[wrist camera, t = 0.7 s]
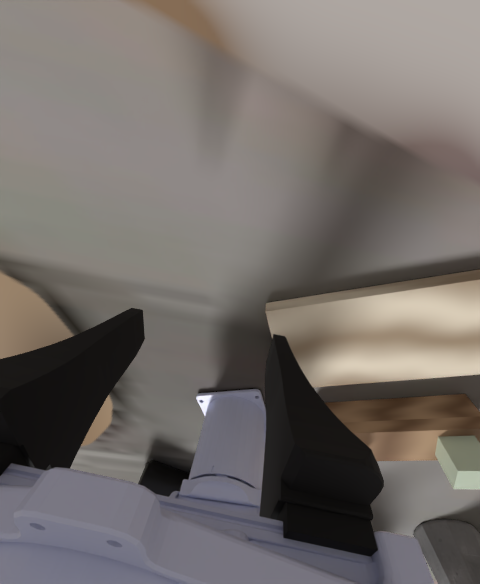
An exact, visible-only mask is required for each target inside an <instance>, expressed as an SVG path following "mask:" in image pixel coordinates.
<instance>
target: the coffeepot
mask: <svg viewBox="0 0 480 584" xmlns="http://www.w3.org/2000/svg"><path fill="white" fill-rule="evenodd" d="M413 535H414V537H415V538H416V539H417V540H418V542H419V545H420V547H421V550H422V553H423V554H424V556H425V558H426V560H427V562H428V564H429V566H430V568H431V570H432V572H433V574H434V576H435V578H436V580H437V582H438V584H480V533H479V532H478V531H477V530H476V528H475V527H474V526H472V525H471V524H469V523H466V522H463V521H458V520H448V519H442V520H432V521H428V522H425V523H422V524H420V525H419V526H417V527H416V529H415V532H414V534H413Z"/></svg>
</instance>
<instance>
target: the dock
mask: <svg viewBox="0 0 480 584" xmlns="http://www.w3.org/2000/svg"><path fill="white" fill-rule="evenodd" d="M265 312H266V316H267V320H268V324H269V328H270V332H271V336H272V338H273V334H276V335H282V336H285V337H286V338H287V341H288V343H289V346H290V348H291V350H292V352H293V354H294V356H295V358H296V360H297V362H298V364H299V366H300V368H301V369H302V371H303V373H304V375H305V376H306V378H307V379H308V381H309V383H310V384H311V386H312V387H324V386H337V385H350V384H363V383H375V382H388V381H401V380H414V379H427V378H440V377H453V376H466V375H479V374H480V269H479V270H473V271H466V272H460V273H453V274H447V275H441V276H434V277H428V278H422V279H415V280H409V281H403V282H396V283H390V284H384V285H377V286H371V287H365V288H358V289H352V290H345V291H339V292H333V293H326V294H320V295H314V296H307V297H301V298H295V299H288V300H282V301H276V302H269V303H266V311H265Z"/></svg>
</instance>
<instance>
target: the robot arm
mask: <svg viewBox="0 0 480 584" xmlns="http://www.w3.org/2000/svg"><path fill="white" fill-rule="evenodd" d="M144 339H145V337H144V322H143V310H140V309H135V308H131V309H129V310H126V311H124V312H122V313H121V314H119V315H117V316H115V317H113V318H111V319H109V320H107V321H105V322H103V323H101V324H99V325H97V326H95V327H93V328H91V329H88V330H86V331H84V332H82V333H80V334H78V335H75V336H73V337H71V338H68V339H66V340H63V341H60V342H58V343H55V344H52V345H49V346H46V347H43V348H39V349H37V350H33V351H30V352H27V353H23V354H19V355H15V356H12V357H7V358H3V359H0V584H434V582H433V579H432V576H431V574H430V571H429V568H428V566H427V563H426V561H425V558H424V555H423V553H422V550H421V547H420V545H419V542H418V540H417V539H416V538H414V537H411V536H406V535H401V534H396V533H392V532H387V531H375V532H374V533H373V529H372V525H371V522H370V520H372V519H373V514H372V510H371V507H370V504H371V503H372V501H373V500H374V499H375V498H376V497H377V496H378V494H379V493H380V492H381V490H382V488H383V486H384V480H383V477H382V474H381V472H380V469H379V466H378V463H377V461H376V459H375V457H374V454H373V452H372V450H371V449H370V448H369V447H368V446H367V445H366V444H365V443H364V442H363V441H361V440H360V439H359V438H358V437H357V436H356V435H355V434H354V433H352V432H351V431H350V430H349V429H348V428H347V427H346V426H345V425H344V424H343V423H342V422H341V421H340V420H339V419H338V418H337V417H336V415H335V414H334V413H333V412H332V411H331V410H330V409H329V407H328V406H327V405H326V404H325V403H324V402H323V400H322V399H321V398H320V397H319V395H318V394H317V393H316V391H315V390H314V388H313V387H312V386H311V384H310V383H309V381H308V379H307V378H306V376H305V375H304V373H303V371H302V369H301V368H300V366H299V364H298V362H297V360H296V358H295V356H294V354H293V352H292V350H291V348H290V346H289V343H288V341H287V338H286V337H285V336H282V335H276V334H273V338H272V342H271V346H270V350H269V354H268V358H267V362H266V372H265V400H266V407H265V404H264V401H263V398H262V395H261V391H260V390H258V389H249V390H236V391H224V392H211V393H199V394H197V397H196V399H197V401H198V403H199V405H200V407H201V409H202V411H203V413H204V415H205V419H204V422H203V426H202V430H201V434H200V437H199V441H198V445H197V449H196V453H195V456H194V460H193V464H192V468H191V471H190V475H189V479H188V480H187V479H184V480H183V482H182V485H181V489H180V492H179V491H174V492H172V493H171V495H170V496H169V497H167V496H162V495H158V494H155V493H154V492H152V491H151V490H149V489H148V488H146V487H145V486H142V485H139V484H136V483H134V482H130V481H126V480H121V479H116V478H112V477H107V476H102V475H97V474H93V473H88V472H83V471H79V470H74V469H70V467H71V465H72V462H73V460H74V458H75V456H76V454H77V452H78V450H79V448H80V446H81V444H82V442H83V440H84V438H85V436H86V434H87V432H88V430H89V428H90V427H91V425H92V423H93V421H94V419H95V417H96V415H97V414H98V412H99V410H100V408H101V407H102V405H103V403H104V401H105V399H106V398H107V396H108V395H109V393H110V392H111V390H112V389H113V387H114V386H115V384H116V383H117V382H118V380H119V379H120V377H121V376H122V375H123V373H124V372H125V371H126V369H127V368H128V366H129V365H130V363H131V362H132V361H133V359H134V358H135V356H136V355H137V353H138V351H139V349H140V347H141V345H142V343H143V341H144Z"/></svg>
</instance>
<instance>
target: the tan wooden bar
mask: <svg viewBox="0 0 480 584" xmlns="http://www.w3.org/2000/svg"><path fill="white" fill-rule="evenodd" d="M325 404H326V405H327V406H328V407H329V409H330V410H331V411H332V412H333V413H334V414H335V415H336V417H337V418H338V419H339V420H340V421H341V422H342V423H343V424H344V425H345V426H346V427H347V428H348V429H349V430H350V431H351V432H352V433H354V434H355V435H356V436H357V437H358V438H359V439H360V440H361V441H363V442H364V443H365V444H366V445H367V446H368V447H369V448H370V449H371V450H372V452H373V454H374V457H375V459H376V461H410V460H438V459H437V457H436V456H435V452H436V446H437V439H438V437H443V436H475V437H476V438H477V440H478V441H479V443H480V412H479V410H478V409H477V408H476V407H475V405H474V404H473V403H472V402H471V400H470V399H469V398H468V397H467V395H466V394H455V395H439V396H423V397H407V398H392V399H376V400H360V401H344V402H328V403H325Z"/></svg>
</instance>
